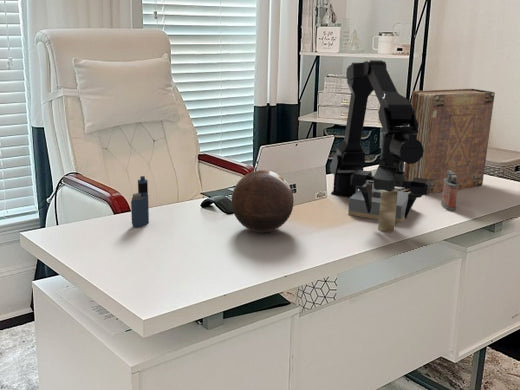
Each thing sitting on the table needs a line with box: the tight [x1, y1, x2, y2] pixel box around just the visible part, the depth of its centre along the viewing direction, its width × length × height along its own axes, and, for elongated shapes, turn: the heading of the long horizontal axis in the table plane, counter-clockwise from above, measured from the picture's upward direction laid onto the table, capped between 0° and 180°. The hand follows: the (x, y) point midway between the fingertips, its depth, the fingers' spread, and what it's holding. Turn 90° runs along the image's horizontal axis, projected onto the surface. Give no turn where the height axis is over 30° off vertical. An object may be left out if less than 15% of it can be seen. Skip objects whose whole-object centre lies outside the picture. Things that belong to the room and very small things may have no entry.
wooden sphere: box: [231, 169, 295, 233], centre depth 149 cm, size 15×15×15 cm
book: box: [403, 88, 496, 195], centre depth 191 cm, size 25×9×30 cm, turn 118°
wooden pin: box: [377, 189, 399, 233], centre depth 153 cm, size 4×4×10 cm
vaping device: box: [130, 175, 150, 228], centre depth 151 cm, size 3×5×12 cm, turn 155°
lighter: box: [440, 171, 459, 212], centre depth 173 cm, size 8×3×10 cm, turn 179°
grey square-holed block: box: [347, 186, 410, 224], centre depth 168 cm, size 14×14×4 cm
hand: (387, 215), depth 153 cm, fingers open, 9 cm apart
